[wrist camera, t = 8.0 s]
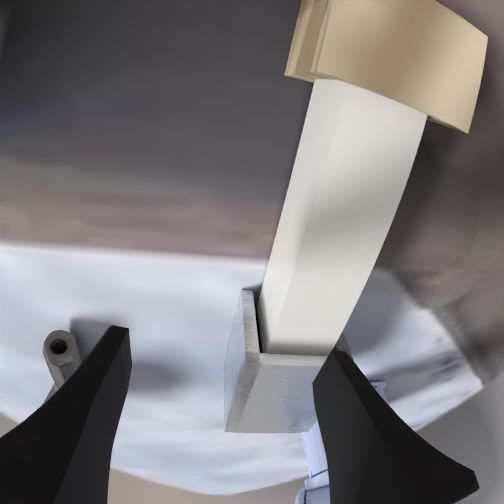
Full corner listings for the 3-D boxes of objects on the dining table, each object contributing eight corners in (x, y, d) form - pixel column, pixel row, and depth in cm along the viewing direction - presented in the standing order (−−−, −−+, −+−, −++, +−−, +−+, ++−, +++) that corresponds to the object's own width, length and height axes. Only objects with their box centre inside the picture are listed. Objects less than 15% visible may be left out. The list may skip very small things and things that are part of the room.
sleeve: (329, 298, 22) (355, 366, 17) (295, 371, 27) (308, 432, 21) (241, 289, 21) (246, 362, 16) (223, 367, 26) (224, 431, 20)
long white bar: (386, 73, 14) (437, 76, 10) (309, 310, 22) (325, 362, 18) (321, 50, 13) (357, 40, 9) (256, 305, 22) (263, 359, 18)
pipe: (97, 332, 23) (70, 411, 16) (107, 405, 29) (94, 465, 22) (37, 314, 22) (1, 384, 15) (59, 391, 28) (42, 447, 21)
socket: (415, 40, 13) (487, 37, 8) (399, 111, 16) (468, 133, 10) (302, -4, 12) (342, -44, 6) (284, 75, 14) (316, 71, 9)
